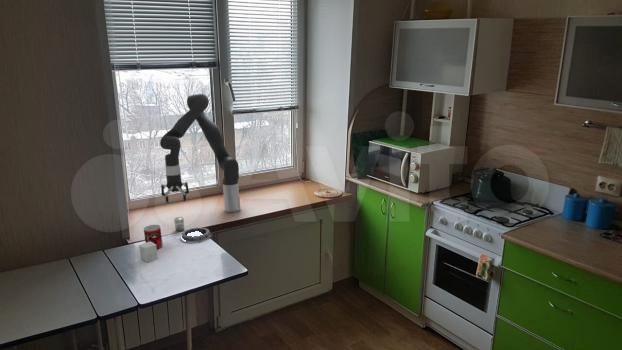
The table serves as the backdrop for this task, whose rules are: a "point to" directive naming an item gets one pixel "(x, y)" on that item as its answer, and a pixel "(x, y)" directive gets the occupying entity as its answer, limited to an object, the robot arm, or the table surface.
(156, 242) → the canned food
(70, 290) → the table surface
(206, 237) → the ring
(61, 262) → the table surface
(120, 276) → the table surface
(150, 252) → the product box
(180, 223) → the piston
